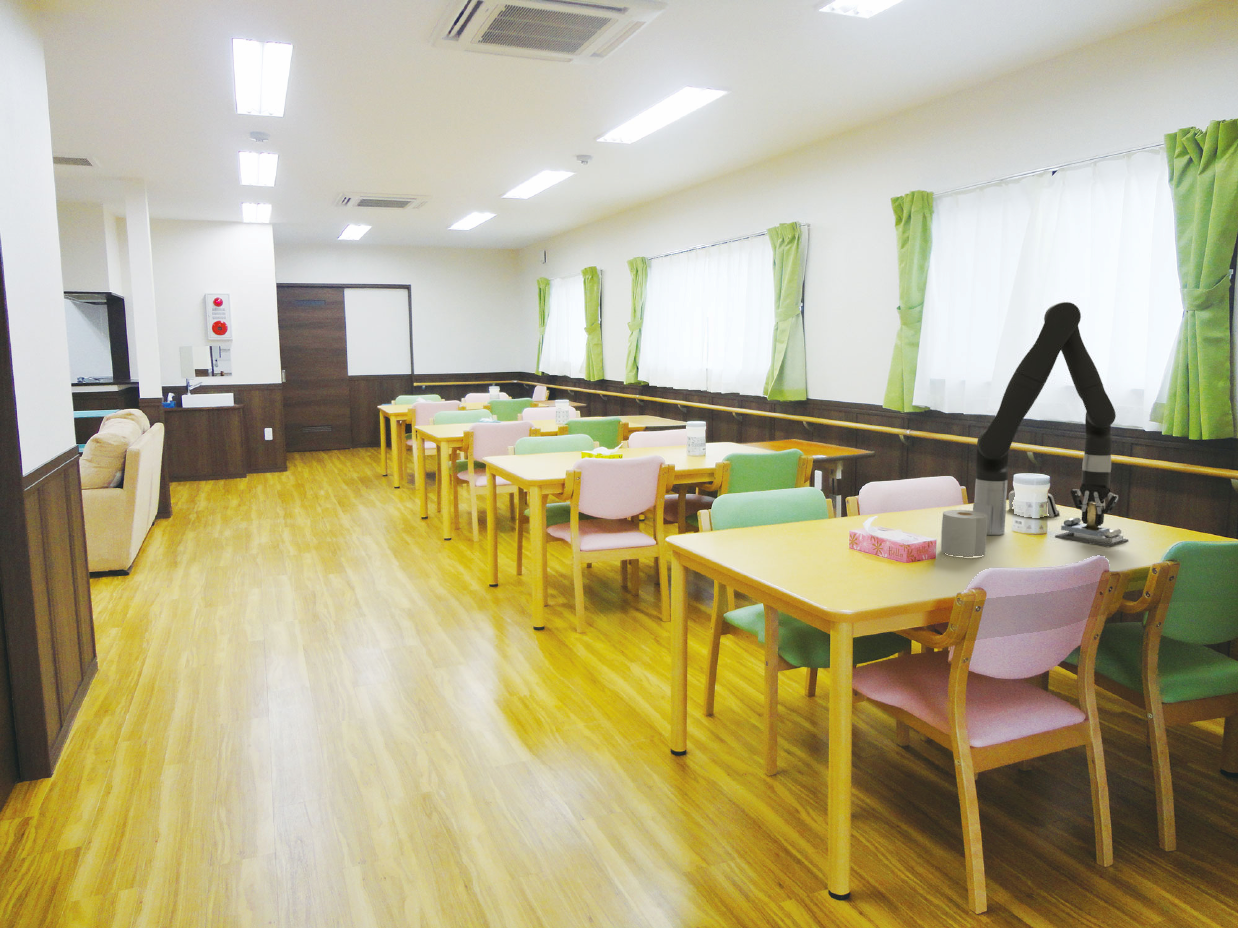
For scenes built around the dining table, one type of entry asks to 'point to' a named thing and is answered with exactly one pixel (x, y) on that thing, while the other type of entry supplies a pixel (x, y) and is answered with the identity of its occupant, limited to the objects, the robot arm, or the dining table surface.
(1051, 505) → the hinge
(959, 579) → the dining table surface
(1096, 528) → the brass pin
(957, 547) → the toilet paper roll
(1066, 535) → the rubber mat
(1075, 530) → the grey clamping fixture
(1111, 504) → the robot arm
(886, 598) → the dining table surface
